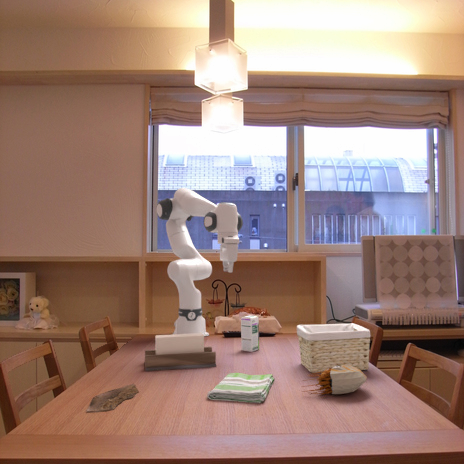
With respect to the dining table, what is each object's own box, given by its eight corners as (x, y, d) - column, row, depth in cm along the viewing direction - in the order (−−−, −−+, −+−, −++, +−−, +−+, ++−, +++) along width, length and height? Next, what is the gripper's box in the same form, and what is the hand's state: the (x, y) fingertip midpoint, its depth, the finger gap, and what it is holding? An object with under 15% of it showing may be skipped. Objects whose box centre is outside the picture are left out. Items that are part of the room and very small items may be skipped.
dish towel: (205, 401, 126) (205, 388, 126) (225, 378, 148) (225, 367, 148) (263, 405, 122) (263, 393, 122) (275, 381, 144) (275, 370, 144)
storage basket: (307, 374, 150) (306, 332, 151) (295, 362, 166) (295, 324, 167) (373, 372, 153) (372, 330, 153) (355, 360, 169) (354, 322, 169)
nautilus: (308, 404, 122) (292, 390, 137) (378, 394, 126) (355, 382, 141) (306, 376, 123) (290, 365, 138) (375, 367, 127) (353, 357, 141)
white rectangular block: (155, 361, 164) (155, 335, 165) (202, 358, 169) (201, 333, 169) (156, 365, 159) (156, 338, 160) (204, 361, 164) (204, 335, 164)
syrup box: (252, 352, 183) (251, 317, 184) (240, 350, 187) (240, 316, 187) (259, 349, 188) (259, 316, 188) (248, 347, 191) (248, 314, 192)
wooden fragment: (105, 416, 114) (105, 412, 114) (70, 411, 117) (70, 407, 117) (152, 387, 139) (152, 383, 139) (122, 384, 142) (122, 380, 142)
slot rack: (144, 362, 167) (144, 349, 167) (211, 358, 172) (211, 346, 173) (145, 371, 155) (145, 357, 156) (216, 366, 161) (216, 353, 161)
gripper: (216, 240, 195) (216, 270, 194) (225, 239, 175) (225, 273, 174) (230, 240, 196) (230, 270, 195) (240, 239, 176) (240, 273, 175)
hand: (228, 271), depth 184 cm, fingers open, 8 cm apart
